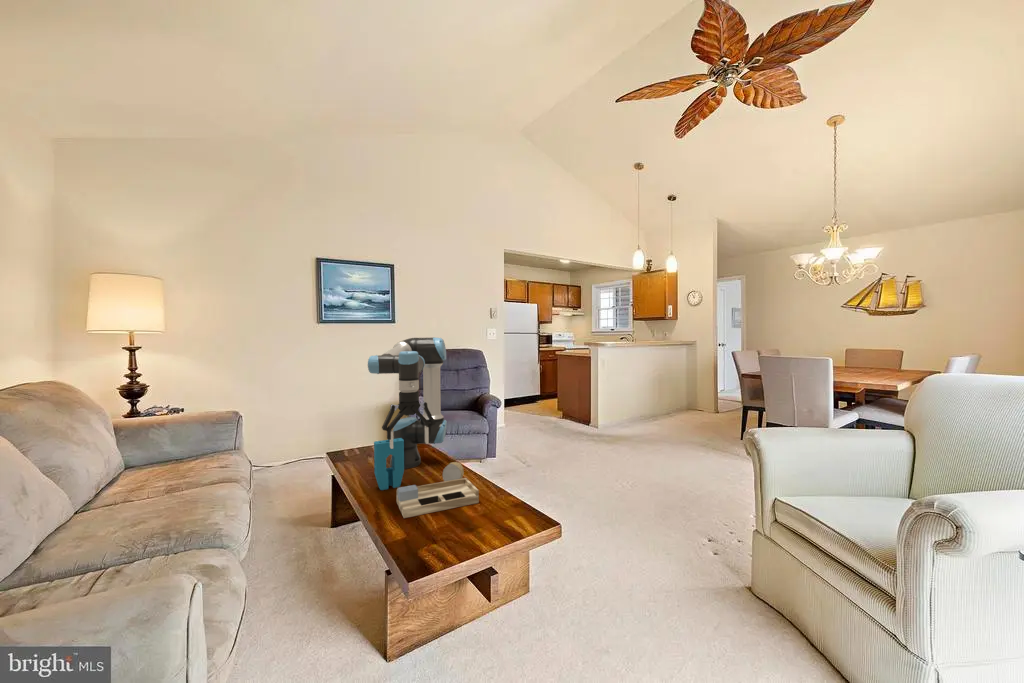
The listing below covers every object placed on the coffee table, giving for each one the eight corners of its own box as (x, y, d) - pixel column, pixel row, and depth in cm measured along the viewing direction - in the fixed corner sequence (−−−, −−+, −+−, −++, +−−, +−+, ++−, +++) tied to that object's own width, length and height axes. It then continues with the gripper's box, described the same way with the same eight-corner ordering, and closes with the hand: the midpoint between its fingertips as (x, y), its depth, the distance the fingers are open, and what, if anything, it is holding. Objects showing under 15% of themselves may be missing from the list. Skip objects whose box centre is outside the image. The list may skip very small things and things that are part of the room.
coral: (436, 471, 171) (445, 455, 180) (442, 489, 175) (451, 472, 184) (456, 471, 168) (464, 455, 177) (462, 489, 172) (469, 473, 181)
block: (397, 496, 154) (397, 487, 154) (415, 493, 157) (415, 484, 157) (399, 501, 150) (399, 492, 150) (418, 498, 153) (418, 489, 153)
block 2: (402, 482, 177) (401, 437, 177) (404, 485, 173) (404, 440, 172) (374, 487, 171) (373, 441, 171) (376, 491, 167) (375, 444, 167)
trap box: (396, 502, 156) (396, 489, 156) (466, 489, 169) (466, 477, 168) (403, 518, 142) (403, 504, 142) (478, 502, 155) (478, 490, 155)
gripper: (377, 394, 144) (377, 452, 144) (443, 389, 155) (443, 443, 156) (373, 392, 150) (374, 447, 151) (437, 387, 162) (437, 439, 162)
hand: (409, 445), depth 153 cm, fingers open, 13 cm apart
